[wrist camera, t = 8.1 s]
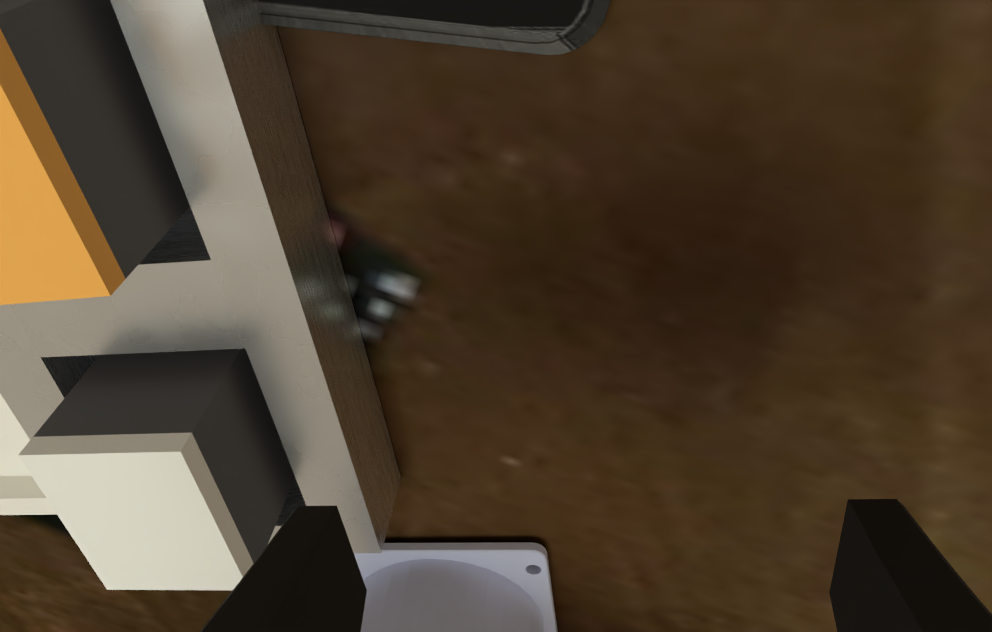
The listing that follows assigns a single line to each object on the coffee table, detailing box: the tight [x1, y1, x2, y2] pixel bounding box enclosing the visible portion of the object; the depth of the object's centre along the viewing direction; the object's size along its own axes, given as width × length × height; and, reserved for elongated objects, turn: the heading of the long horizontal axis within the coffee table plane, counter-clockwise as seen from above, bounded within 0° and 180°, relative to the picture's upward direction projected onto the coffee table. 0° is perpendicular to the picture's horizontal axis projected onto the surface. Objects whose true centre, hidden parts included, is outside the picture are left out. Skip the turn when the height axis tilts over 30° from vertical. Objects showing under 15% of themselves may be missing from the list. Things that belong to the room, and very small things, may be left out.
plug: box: [0, 0, 190, 305], centre depth 16 cm, size 5×4×5 cm
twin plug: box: [18, 349, 295, 590], centre depth 21 cm, size 5×4×5 cm
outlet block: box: [0, 0, 401, 553], centre depth 20 cm, size 18×9×3 cm, turn 7°
